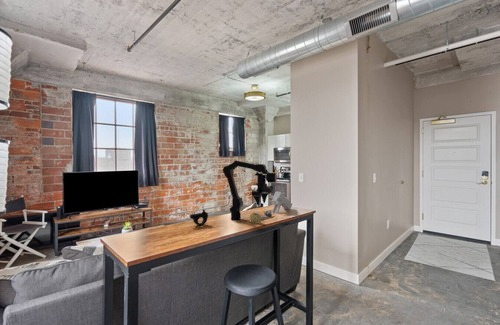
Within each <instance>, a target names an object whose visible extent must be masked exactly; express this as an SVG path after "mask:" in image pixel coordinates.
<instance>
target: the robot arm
mask: <svg viewBox="0 0 500 325" xmlns="http://www.w3.org/2000/svg"><path fill="white" fill-rule="evenodd" d="M238 167H240V168H244V169H249V170H253V171H255V172H256V173H255V174H254V176H257V183H255V185H256V186H257V187H256V189H255V190H253V191H251V196H252V197H253V198H254V201H255V202H256V205H257V206H259V205H260V200H261V199H262V203H263V204H266V200H267V197H268V195H270V194H272V193H273V191H274V190H275V189H274V185H270V186H269V185H268V183H277V173H276V172H269V170H268V169H267V166H266V165H265V164H264V163H263V164H262V163H249V162H247V161H246V162H245V161H240V160H235V161H233V162H232V163H231V162H230V164H228V165H225V166H224V167H223V168H222V172H223V174H224V177H225V178H226V179H227V183H228V187H229V189H230V192H231V197H232V198H231V199H232V200H231V203H232V206H231V207H230V208H229V211H230V220H231V221H240V220H241V219H242V217H241V215H242V213H241V212H240V211H241V208H242V207H243V206H244V201H243V197H241V196H240V195H239V192H238V189H237V185H236V182H235V178H234V170H235V169H237V168H238Z"/></svg>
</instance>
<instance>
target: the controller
mask: <svg viewBox="0 0 500 325" xmlns="http://www.w3.org/2000/svg"><path fill="white" fill-rule="evenodd" d="M208 214H209V212H206V209H202V210H201V212H198V213H192V214H190V215H189V218H190V219H192V220H193V223H194V224H195V225H196V226H203V225H205V224H206V223H207V221H208V218H209V215H208ZM201 218H202V221H201V222H199V219H201Z"/></svg>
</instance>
